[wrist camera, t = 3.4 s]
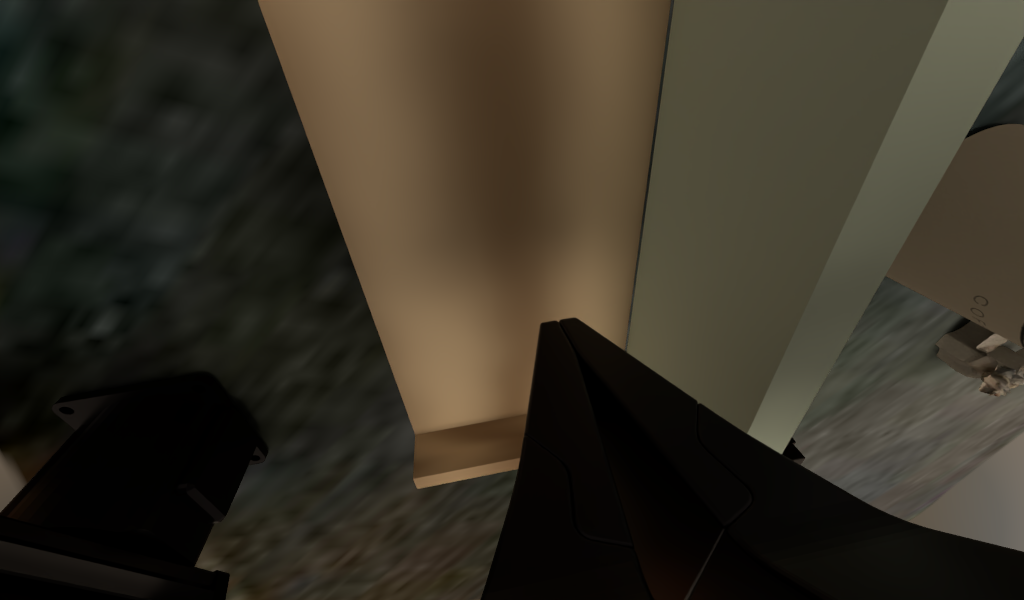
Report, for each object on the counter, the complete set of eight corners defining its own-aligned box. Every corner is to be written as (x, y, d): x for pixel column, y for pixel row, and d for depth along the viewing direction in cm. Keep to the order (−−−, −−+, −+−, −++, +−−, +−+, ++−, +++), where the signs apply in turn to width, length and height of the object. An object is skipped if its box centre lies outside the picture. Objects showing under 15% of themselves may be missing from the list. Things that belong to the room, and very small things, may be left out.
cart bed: (421, 397, 21) (417, 489, 16) (246, -152, 9) (85, -313, 5) (596, 366, 22) (636, 445, 17) (637, -168, 10) (782, -316, 6)
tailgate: (620, 397, 18) (689, 559, 13) (696, -163, 8) (1247, -648, 2) (656, 392, 18) (741, 552, 13) (777, -170, 8) (1507, -656, 2)
